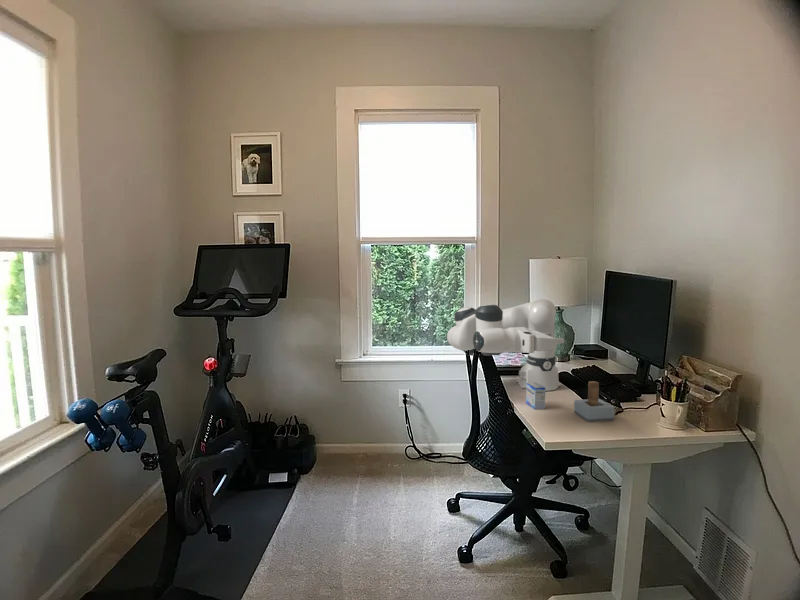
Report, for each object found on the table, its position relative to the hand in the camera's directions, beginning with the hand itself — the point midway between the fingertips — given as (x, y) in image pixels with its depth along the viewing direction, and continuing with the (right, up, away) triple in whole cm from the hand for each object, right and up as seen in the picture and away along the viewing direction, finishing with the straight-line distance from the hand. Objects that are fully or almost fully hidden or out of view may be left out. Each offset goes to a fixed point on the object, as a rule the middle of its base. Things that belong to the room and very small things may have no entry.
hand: (556, 338), depth 172 cm
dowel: (+15, -28, +5) cm, 32 cm away
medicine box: (-3, -29, +18) cm, 34 cm away
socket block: (+15, -29, +5) cm, 34 cm away
